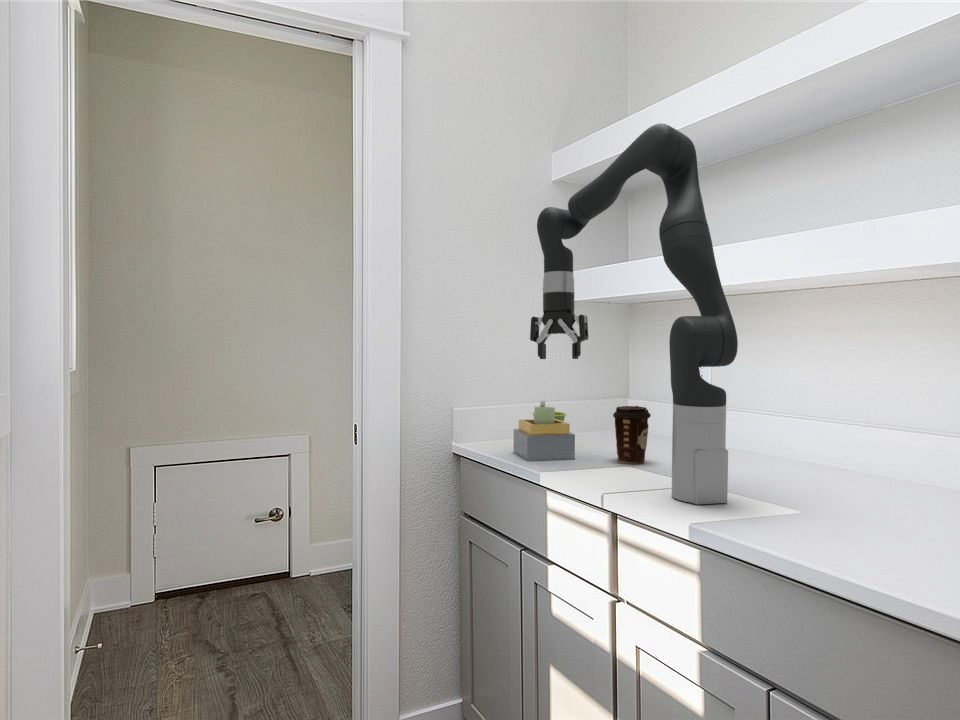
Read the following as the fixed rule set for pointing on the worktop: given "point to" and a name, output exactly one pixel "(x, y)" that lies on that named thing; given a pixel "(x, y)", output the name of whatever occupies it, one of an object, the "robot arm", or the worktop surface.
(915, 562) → the worktop surface
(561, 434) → the open square metal box
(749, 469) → the worktop surface
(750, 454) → the worktop surface
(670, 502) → the worktop surface
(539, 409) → the spout can
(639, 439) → the coffee cup
